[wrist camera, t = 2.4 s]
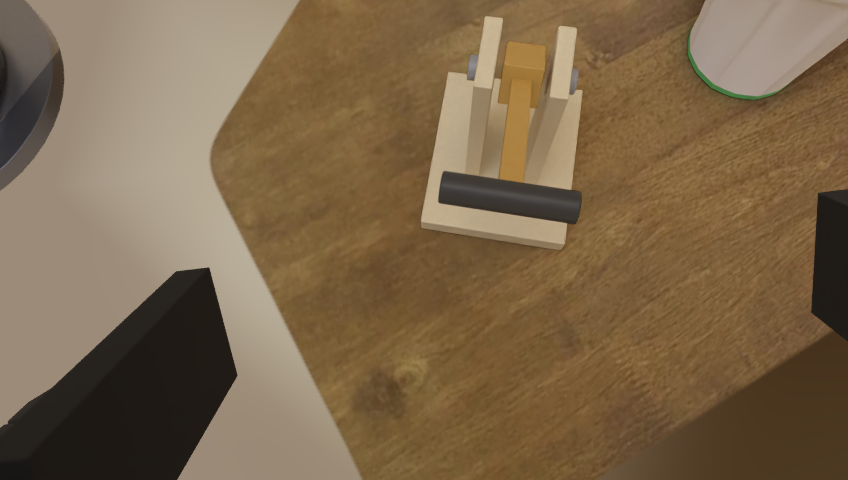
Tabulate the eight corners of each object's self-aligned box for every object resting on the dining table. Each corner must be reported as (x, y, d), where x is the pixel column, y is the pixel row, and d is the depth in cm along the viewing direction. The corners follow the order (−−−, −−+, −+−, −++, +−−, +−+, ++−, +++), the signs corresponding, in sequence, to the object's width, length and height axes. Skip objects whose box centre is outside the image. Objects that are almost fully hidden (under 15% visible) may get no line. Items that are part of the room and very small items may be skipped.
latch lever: (572, 239, 28) (585, 197, 26) (436, 218, 28) (440, 174, 27) (570, 88, 38) (580, 50, 36) (468, 74, 38) (473, 36, 36)
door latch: (561, 250, 45) (610, 173, 32) (421, 228, 46) (413, 144, 33) (578, 100, 49) (630, -25, 36) (448, 81, 49) (451, -48, 36)
